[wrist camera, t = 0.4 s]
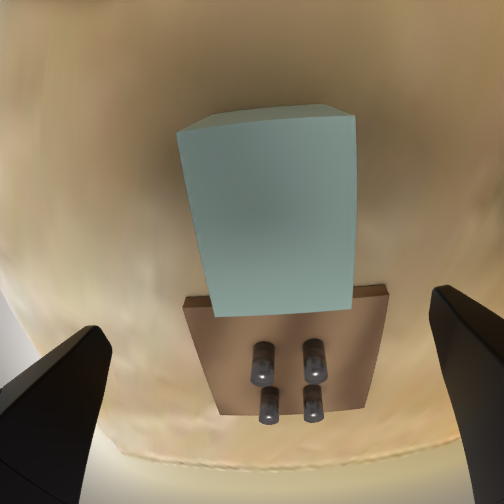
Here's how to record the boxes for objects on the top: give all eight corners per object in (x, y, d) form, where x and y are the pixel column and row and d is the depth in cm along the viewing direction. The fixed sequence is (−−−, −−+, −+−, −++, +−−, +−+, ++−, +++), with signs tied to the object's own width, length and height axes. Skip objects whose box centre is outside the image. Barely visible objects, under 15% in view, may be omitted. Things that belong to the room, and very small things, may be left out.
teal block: (323, 103, 15) (355, 115, 9) (329, 235, 19) (351, 309, 13) (213, 113, 16) (175, 132, 10) (233, 242, 20) (215, 317, 14)
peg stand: (384, 284, 21) (402, 325, 17) (362, 398, 27) (368, 433, 24) (186, 297, 22) (171, 338, 19) (221, 405, 29) (216, 440, 25)
